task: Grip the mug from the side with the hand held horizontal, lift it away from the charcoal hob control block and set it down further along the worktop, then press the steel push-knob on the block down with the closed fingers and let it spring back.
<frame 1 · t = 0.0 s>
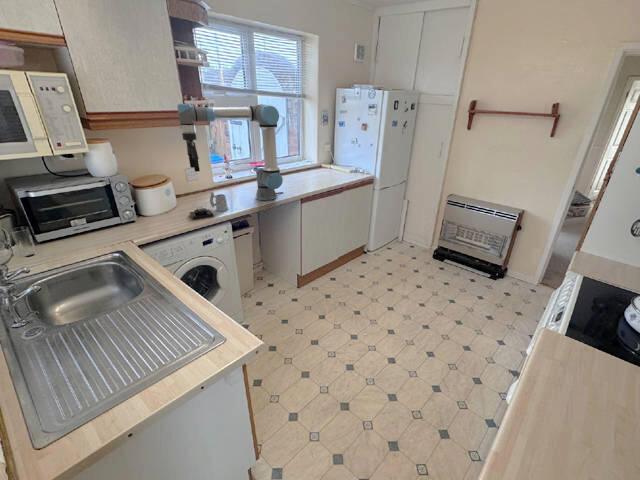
hand: (195, 169, 197), 28 cm above the counter, tool pointing down, fingers open, 13 cm apart
hob panel: (201, 216, 203), on the counter
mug: (219, 209, 216), on the counter
hob knob: (200, 209, 201), point 5 cm above the counter, slide at 0.1 cm
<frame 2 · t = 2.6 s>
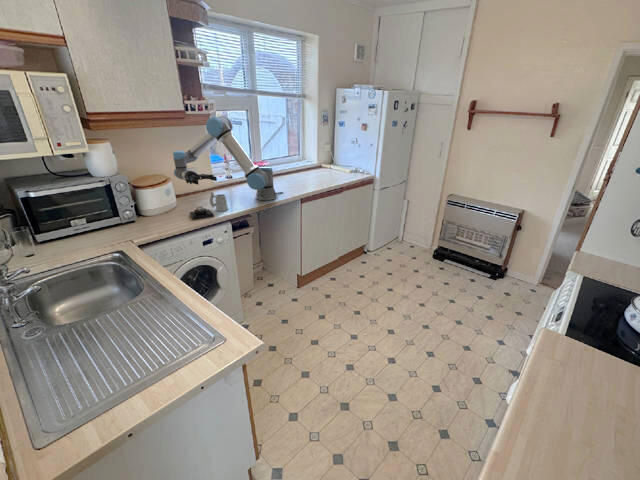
hand: (207, 180, 213), 18 cm above the counter, tool horizontal, fingers open, 13 cm apart
nothing on the counter moved.
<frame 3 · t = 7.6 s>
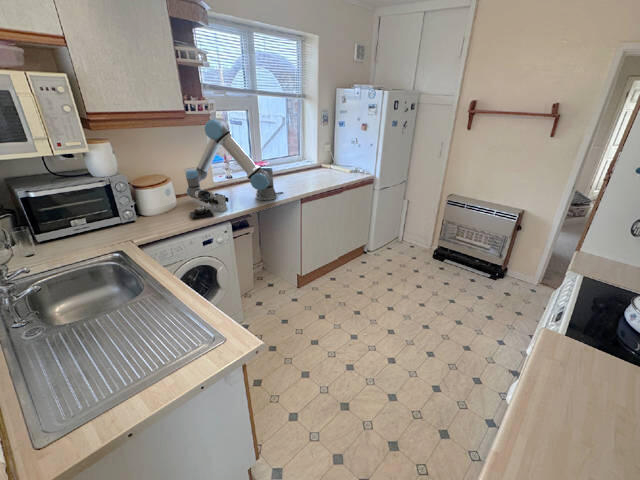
hand: (222, 201, 210), 7 cm above the counter, tool horizontal, fingers closed on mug, 7 cm apart
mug: (218, 210, 215), on the counter, touching gripper
everything else where it was.
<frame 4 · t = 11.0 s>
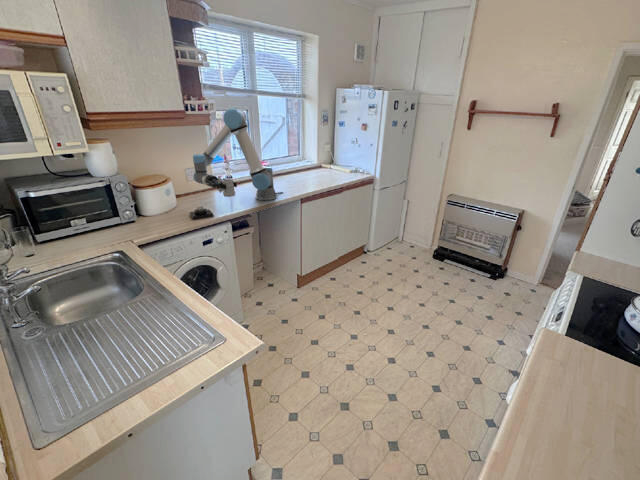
hand: (230, 185, 203), 18 cm above the counter, tool horizontal, fingers closed on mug, 7 cm apart
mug: (226, 195, 208), point 11 cm above the counter, touching gripper
everything else where it was.
when the fingers open (7 cm above the counter, at t = 14.6 s): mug stays where it is, on the counter.
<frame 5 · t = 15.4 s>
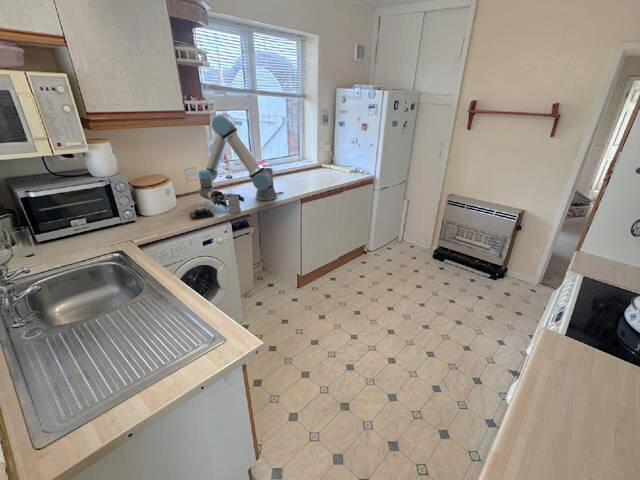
hand: (235, 201, 208), 7 cm above the counter, tool horizontal, fingers open, 13 cm apart
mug: (232, 211, 212), on the counter
everything else where it was.
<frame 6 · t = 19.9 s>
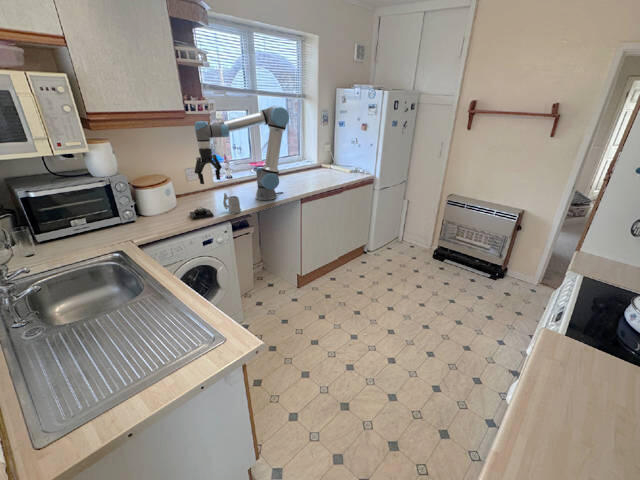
hand: (210, 181, 210), 18 cm above the counter, tool pointing down, fingers open, 13 cm apart
nothing on the counter moved.
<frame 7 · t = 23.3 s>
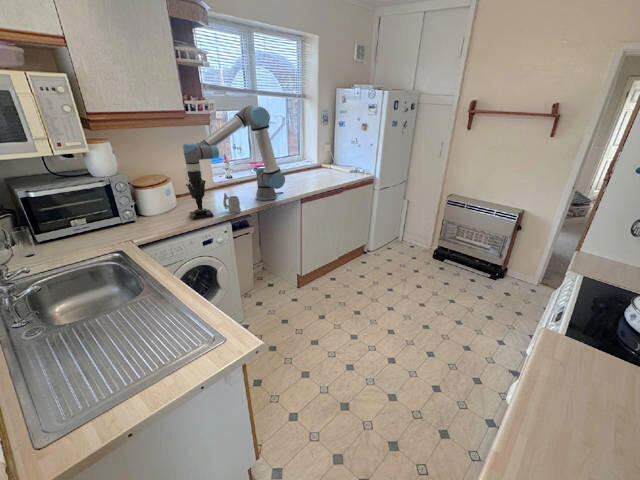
hand: (200, 208, 201), 5 cm above the counter, tool pointing down, fingers closed
hob knob: (200, 210, 202), point 4 cm above the counter, slide at -0.8 cm, touching gripper
everything else where it was.
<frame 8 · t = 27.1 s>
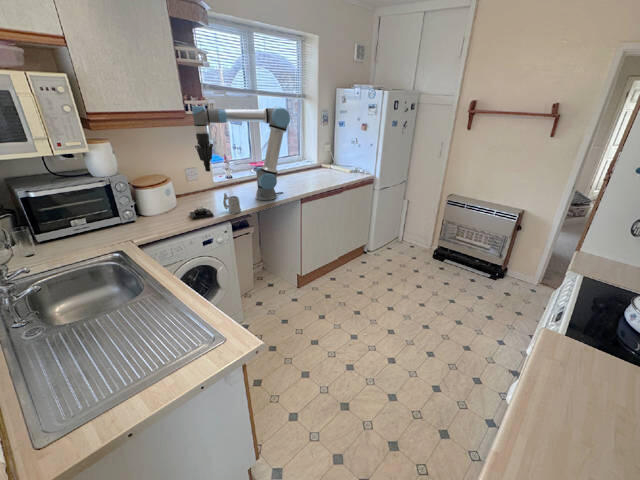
hand: (208, 171, 210), 24 cm above the counter, tool pointing down, fingers closed
hob knob: (200, 209, 201), point 5 cm above the counter, slide at 0.1 cm
everything else where it was.
at the end: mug inside the target area (0.8 cm from its centre), on the counter; hob knob pushed in 1.0 cm at the most during the clip, back to where it started at the end; hob knob slide at 0.1 cm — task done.
